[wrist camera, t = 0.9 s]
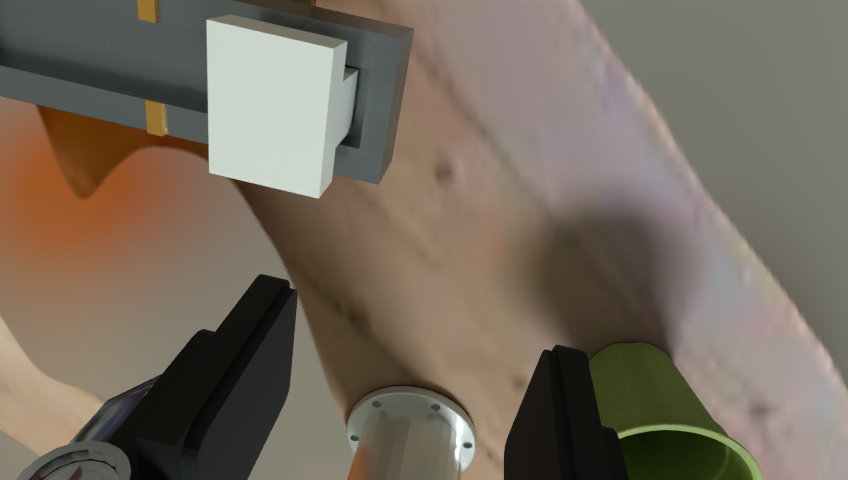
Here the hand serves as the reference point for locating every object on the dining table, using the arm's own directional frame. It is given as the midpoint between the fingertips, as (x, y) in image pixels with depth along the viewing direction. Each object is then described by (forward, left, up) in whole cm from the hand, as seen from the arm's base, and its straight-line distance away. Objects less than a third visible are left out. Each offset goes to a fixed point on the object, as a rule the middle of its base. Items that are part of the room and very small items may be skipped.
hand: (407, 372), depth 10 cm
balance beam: (+11, +11, -27) cm, 31 cm away
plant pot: (-27, +2, -28) cm, 39 cm away
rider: (+6, +6, -17) cm, 19 cm away
